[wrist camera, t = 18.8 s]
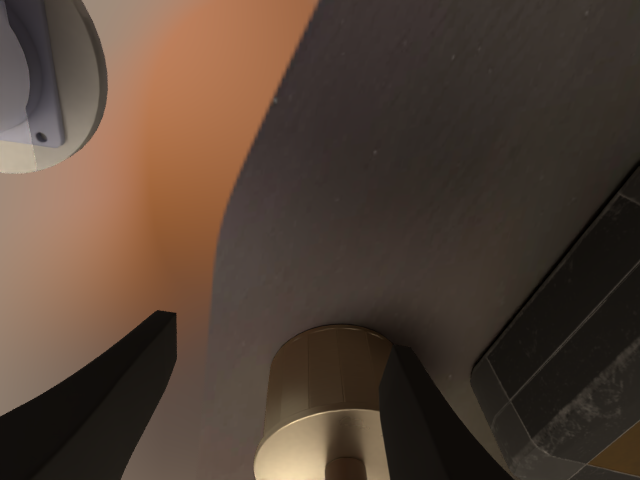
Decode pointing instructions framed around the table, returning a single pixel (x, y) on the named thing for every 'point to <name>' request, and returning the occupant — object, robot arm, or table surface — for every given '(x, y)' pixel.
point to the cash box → (574, 360)
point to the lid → (325, 445)
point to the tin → (325, 370)
